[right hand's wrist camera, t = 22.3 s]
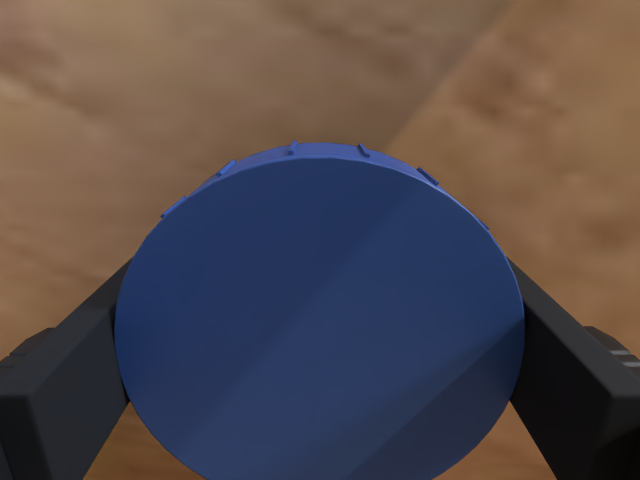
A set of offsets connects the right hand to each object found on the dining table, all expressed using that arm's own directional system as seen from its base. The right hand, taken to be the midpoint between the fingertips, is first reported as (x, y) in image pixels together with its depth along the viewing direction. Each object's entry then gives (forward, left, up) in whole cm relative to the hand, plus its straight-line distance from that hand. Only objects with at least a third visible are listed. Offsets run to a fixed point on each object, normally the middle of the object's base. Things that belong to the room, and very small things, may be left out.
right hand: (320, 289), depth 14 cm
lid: (0, 0, +3) cm, 3 cm away
